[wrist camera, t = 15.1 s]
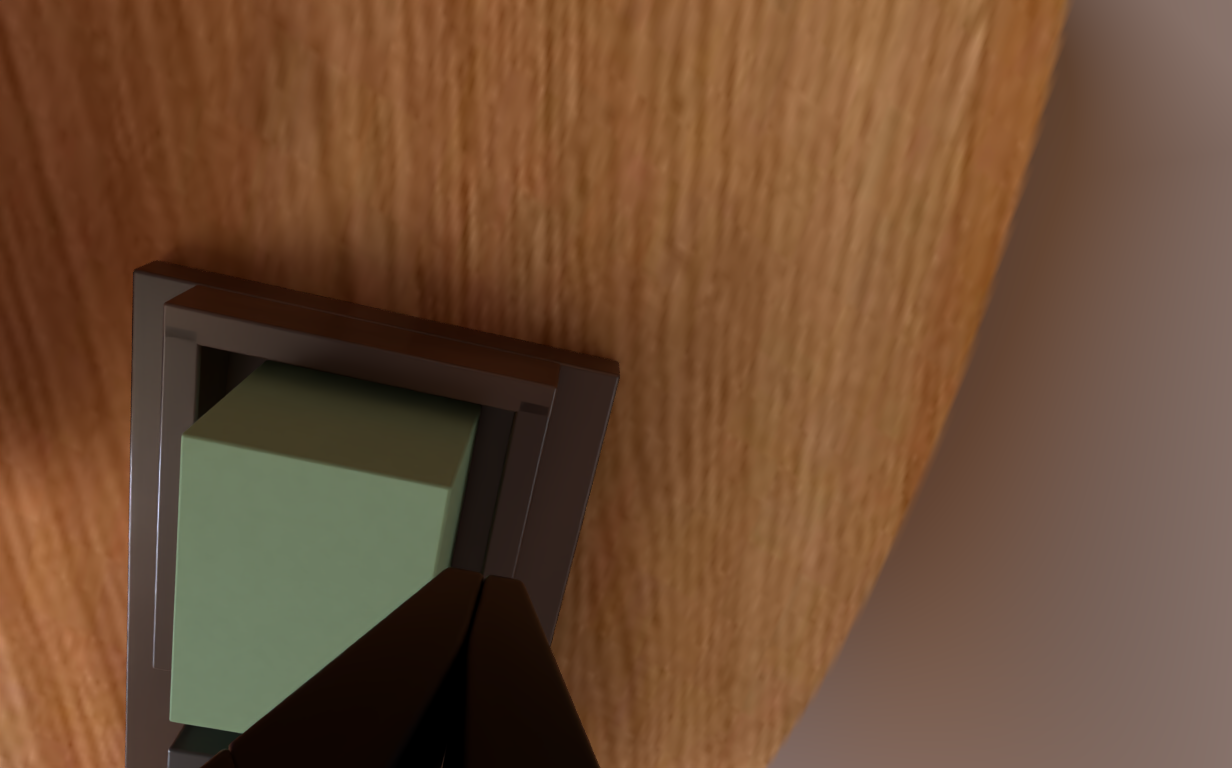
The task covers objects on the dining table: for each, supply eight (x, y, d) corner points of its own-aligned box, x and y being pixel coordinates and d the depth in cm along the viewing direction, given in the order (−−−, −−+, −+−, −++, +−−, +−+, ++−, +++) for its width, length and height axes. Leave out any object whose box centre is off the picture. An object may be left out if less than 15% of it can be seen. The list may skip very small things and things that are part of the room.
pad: (482, 404, 19) (452, 488, 15) (437, 639, 21) (401, 761, 18) (266, 358, 18) (179, 433, 15) (245, 604, 21) (167, 722, 17)
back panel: (620, 361, 19) (624, 453, 15) (498, 838, 25) (474, 1011, 21) (155, 258, 18) (3, 324, 14) (141, 782, 24) (32, 951, 20)
